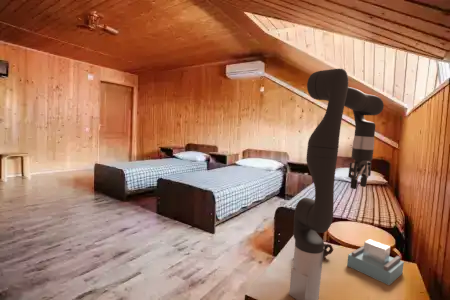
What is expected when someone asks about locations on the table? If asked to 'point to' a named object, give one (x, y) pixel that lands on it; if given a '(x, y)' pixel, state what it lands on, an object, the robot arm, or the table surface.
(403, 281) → the table surface
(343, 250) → the table surface
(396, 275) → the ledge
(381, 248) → the block
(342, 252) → the table surface
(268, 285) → the table surface
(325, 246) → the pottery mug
